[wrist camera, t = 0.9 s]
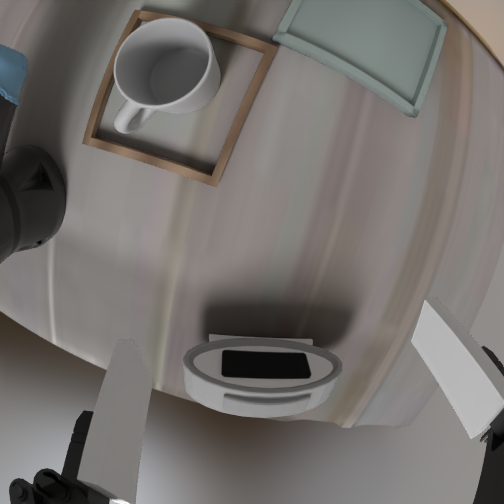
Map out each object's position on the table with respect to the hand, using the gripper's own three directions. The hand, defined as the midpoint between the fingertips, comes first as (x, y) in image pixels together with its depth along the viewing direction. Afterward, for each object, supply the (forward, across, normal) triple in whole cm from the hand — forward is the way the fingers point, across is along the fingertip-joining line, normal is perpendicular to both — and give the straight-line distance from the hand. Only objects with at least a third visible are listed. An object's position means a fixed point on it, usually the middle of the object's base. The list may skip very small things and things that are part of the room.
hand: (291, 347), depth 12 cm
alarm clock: (+25, 0, -25) cm, 35 cm away
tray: (+25, +17, +22) cm, 38 cm away
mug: (+26, -7, +14) cm, 30 cm away
